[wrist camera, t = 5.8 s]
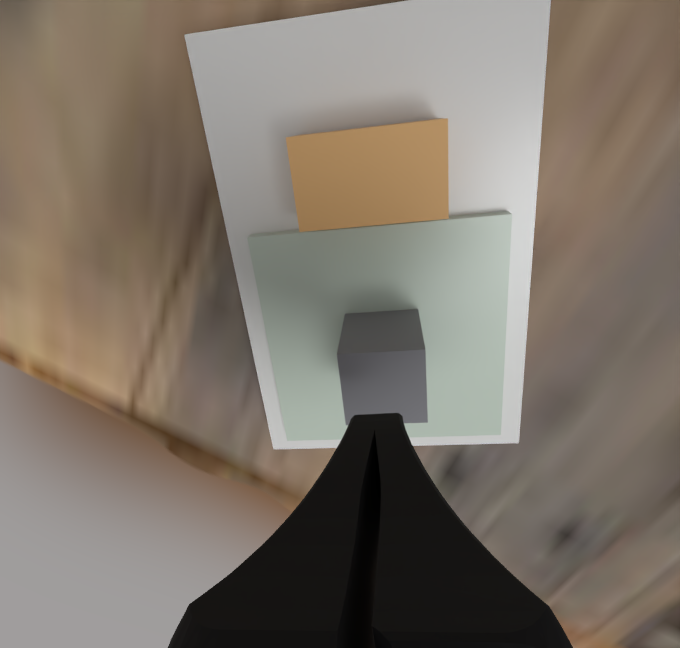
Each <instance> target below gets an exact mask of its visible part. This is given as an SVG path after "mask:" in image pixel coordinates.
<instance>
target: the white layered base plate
mask: <svg viewBox="0 0 680 648" xmlns="http://www.w3.org/2000/svg"><path fill="white" fill-rule="evenodd" d="M550 5H551V0H408V1H401V2H395V3H388V4H381V5H375V6H368V7H362V8H355V9H349V10H342V11H336V12H329V13H322V14H316V15H309V16H303V17H296V18H290V19H283V20H276V21H270V22H263V23H257V24H250V25H244V26H237V27H230V28H224V29H217V30H211V31H204V32H198V33H191V34H184V36H185V40H186V45H187V50H188V54H189V59H190V64H191V68H192V73H193V78H194V82H195V87H196V92H197V96H198V101H199V105H200V110H201V115H202V119H203V124H204V129H205V133H206V138H207V143H208V147H209V152H210V157H211V161H212V166H213V171H214V175H215V180H216V184H217V189H218V194H219V198H220V203H221V208H222V212H223V217H224V222H225V226H226V231H227V236H228V240H229V245H230V250H231V254H232V259H233V263H234V268H235V273H236V277H237V282H238V287H239V291H240V296H241V301H242V305H243V310H244V315H245V319H246V324H247V329H248V333H249V338H250V342H251V347H252V352H253V356H254V361H255V366H256V370H257V375H258V380H259V384H260V389H261V394H262V398H263V403H264V408H265V412H266V417H267V421H268V426H269V431H270V435H271V440H272V445H273V449H307V448H337V447H338V445H339V443H340V441H341V440H342V439H338V440H303V441H287V437H286V432H285V427H284V422H283V417H282V412H281V407H280V402H279V397H278V392H277V386H276V381H275V376H274V371H273V366H272V361H271V356H270V351H269V346H268V341H267V336H266V331H265V326H264V321H263V315H262V310H261V305H260V300H259V295H258V290H257V285H256V280H255V275H254V270H253V265H252V260H251V255H250V250H249V244H248V239H247V237H249V236H250V235H251V234H258V233H269V232H280V231H291V230H299V225H298V218H297V212H296V205H295V198H294V191H293V184H292V178H291V171H290V164H289V157H288V150H287V144H286V137H291V136H296V135H302V134H311V133H319V132H328V131H336V130H345V129H353V128H362V127H370V126H379V125H387V124H396V123H404V122H413V121H421V120H430V119H438V118H448V187H449V216H458V215H469V214H480V213H491V212H503V211H509V212H510V213H511V214H512V226H511V246H510V265H509V285H508V305H507V324H506V344H505V364H504V383H503V403H502V423H501V435H480V436H444V437H409V439H410V441H411V443H412V446H423V445H462V444H501V443H519V433H520V420H521V406H522V392H523V378H524V364H525V350H526V337H527V323H528V309H529V295H530V281H531V267H532V254H533V240H534V226H535V212H536V198H537V184H538V171H539V157H540V143H541V129H542V115H543V101H544V88H545V74H546V60H547V46H548V32H549V18H550Z"/></svg>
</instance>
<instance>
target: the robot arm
mask: <svg viewBox="0 0 680 648" xmlns="http://www.w3.org/2000/svg"><path fill="white" fill-rule="evenodd" d="M168 648H573V647H572V645H571V643H570V641H569V639H568V638H567V636H566V634H565V632H564V630H563V628H562V627H561V625H560V623H559V622H558V620H557V618H556V617H555V615H554V613H553V612H552V610H551V609H550V607H549V606H548V605H547V604H546V603H544V602H543V601H542V600H541V599H540V598H538V597H537V596H536V595H535V594H534V593H533V592H531V591H530V590H529V589H528V588H527V587H526V586H525V585H523V584H522V583H521V582H520V581H519V580H518V579H517V578H516V577H514V576H513V575H512V574H511V573H510V572H509V571H508V570H507V569H506V568H505V567H504V566H503V565H502V564H501V563H500V562H499V561H498V560H497V559H496V558H495V557H494V556H493V555H492V554H491V553H490V552H489V551H488V550H487V549H486V548H485V547H484V546H483V545H482V543H481V542H480V541H479V540H478V539H477V538H476V537H475V536H474V535H473V534H472V533H471V532H470V531H469V529H468V528H467V527H466V526H465V525H464V523H463V522H462V521H461V520H460V519H459V517H458V516H457V515H456V514H455V512H454V511H453V510H452V508H451V507H450V506H449V504H448V503H447V502H446V500H445V499H444V498H443V496H442V495H441V493H440V492H439V490H438V489H437V487H436V486H435V484H434V483H433V481H432V480H431V478H430V477H429V475H428V473H427V472H426V470H425V468H424V467H423V465H422V463H421V461H420V459H419V457H418V455H417V454H416V452H415V450H414V448H413V446H412V443H411V441H410V439H409V436H408V434H407V431H406V429H405V426H404V422H403V416H402V415H401V414H399V413H382V414H363V415H354V416H353V417H352V418H351V420H350V423H349V425H348V427H347V429H346V432H345V434H344V436H343V438H342V440H341V441H340V443H339V445H338V447H337V449H336V451H335V452H334V454H333V456H332V457H331V459H330V461H329V462H328V464H327V466H326V467H325V469H324V470H323V472H322V473H321V475H320V476H319V478H318V479H317V481H316V482H315V484H314V485H313V487H312V488H311V490H310V491H309V492H308V494H307V495H306V496H305V498H304V499H303V500H302V501H301V503H300V504H299V505H298V506H297V508H296V509H295V510H294V511H293V512H292V514H291V515H290V516H289V517H288V518H287V519H286V521H285V522H284V523H283V524H282V525H281V526H280V527H279V528H278V529H277V530H276V531H275V533H274V534H273V535H272V536H271V537H270V538H269V539H268V540H267V541H266V542H265V543H264V544H263V545H262V546H261V547H260V548H258V549H257V550H256V551H255V552H254V553H253V554H252V555H251V556H250V557H249V558H247V559H246V560H245V561H244V562H243V563H242V564H241V565H240V566H239V567H238V568H236V569H235V570H234V571H233V572H232V573H230V574H229V575H228V576H227V577H226V578H224V579H223V580H222V581H220V582H219V583H218V584H216V585H215V586H213V587H212V588H211V589H210V590H208V591H207V592H206V593H204V594H203V595H202V596H200V597H199V598H197V599H196V600H195V601H193V602H192V603H190V604H189V606H188V608H187V610H186V612H185V614H184V616H183V618H182V619H181V621H180V623H179V625H178V627H177V629H176V631H175V633H174V635H173V637H172V639H171V641H170V644H169V646H168Z"/></svg>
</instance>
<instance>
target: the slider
mask: <svg viewBox="0 0 680 648" xmlns="http://www.w3.org/2000/svg"><path fill="white" fill-rule="evenodd" d="M286 144H287V150H288V157H289V164H290V171H291V178H292V184H293V191H294V198H295V205H296V212H297V218H298V225H299V232H305V231H317V230H328V229H339V228H350V227H361V226H373V225H384V224H395V223H406V222H417V221H429V220H440V219H449V187H448V118H438V119H430V120H421V121H413V122H404V123H396V124H387V125H379V126H370V127H362V128H353V129H345V130H336V131H328V132H319V133H311V134H302V135H296V136H291V137H286Z"/></svg>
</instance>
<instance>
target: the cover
mask: <svg viewBox="0 0 680 648" xmlns="http://www.w3.org/2000/svg"><path fill="white" fill-rule="evenodd" d="M511 226H512V214H511V213H510V212H509V211H503V212H491V213H480V214H469V215H458V216H449V219H440V220H429V221H417V222H406V223H395V224H384V225H373V226H361V227H350V228H339V229H328V230H317V231H305V232H299V230H291V231H280V232H269V233H258V234H251V235H250V236H249V237H247V239H248V244H249V250H250V255H251V260H252V265H253V270H254V275H255V280H256V285H257V290H258V295H259V300H260V305H261V310H262V315H263V321H264V326H265V331H266V336H267V341H268V346H269V351H270V356H271V361H272V366H273V371H274V376H275V381H276V386H277V392H278V397H279V402H280V407H281V412H282V417H283V422H284V427H285V432H286V437H287V441H303V440H338V439H342V438H343V436H344V434H345V432H346V429H347V427H348V425H349V423H350V420H351V418H352V417H353V416H354V415H363V414H382V413H399V414H401V415H402V416H403V422H404V426H405V429H406V431H407V434H408V436H409V437H444V436H480V435H501V423H502V403H503V383H504V364H505V344H506V324H507V305H508V285H509V265H510V246H511Z"/></svg>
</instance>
